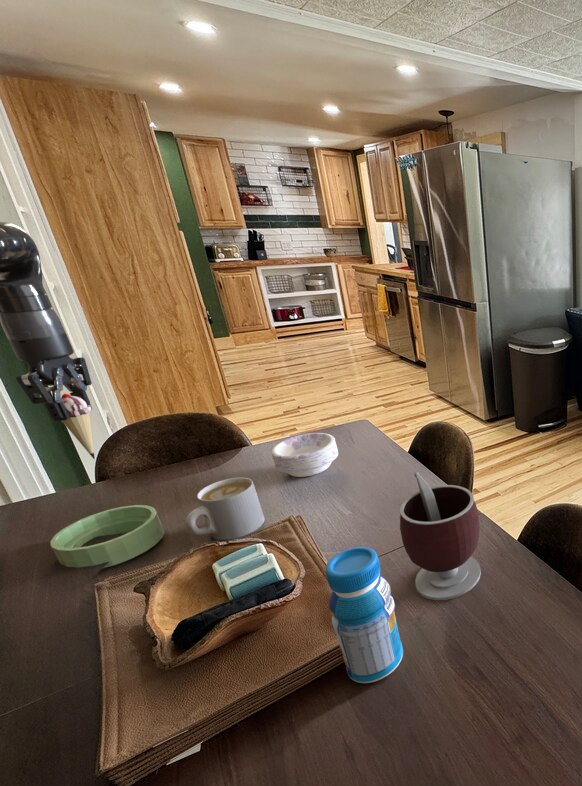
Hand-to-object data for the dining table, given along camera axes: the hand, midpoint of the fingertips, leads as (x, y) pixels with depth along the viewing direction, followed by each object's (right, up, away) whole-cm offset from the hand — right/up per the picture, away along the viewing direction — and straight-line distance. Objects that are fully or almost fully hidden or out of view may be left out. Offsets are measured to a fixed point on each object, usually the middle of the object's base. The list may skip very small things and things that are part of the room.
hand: (73, 413), depth 98 cm
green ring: (+7, -29, +2) cm, 30 cm away
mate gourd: (+79, -32, -4) cm, 85 cm away
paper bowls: (+28, -15, +35) cm, 47 cm away
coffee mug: (+26, -26, +9) cm, 38 cm away
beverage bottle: (+74, -40, -23) cm, 87 cm away
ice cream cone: (0, -10, +4) cm, 11 cm away
